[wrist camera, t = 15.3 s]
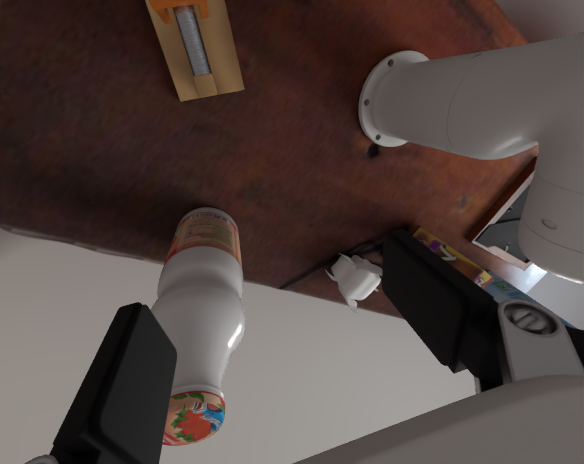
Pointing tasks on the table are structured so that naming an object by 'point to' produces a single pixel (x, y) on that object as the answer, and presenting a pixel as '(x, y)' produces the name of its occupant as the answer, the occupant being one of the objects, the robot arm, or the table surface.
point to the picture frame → (506, 222)
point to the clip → (161, 3)
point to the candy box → (454, 258)
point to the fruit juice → (200, 320)
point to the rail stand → (199, 50)
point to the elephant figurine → (355, 278)
